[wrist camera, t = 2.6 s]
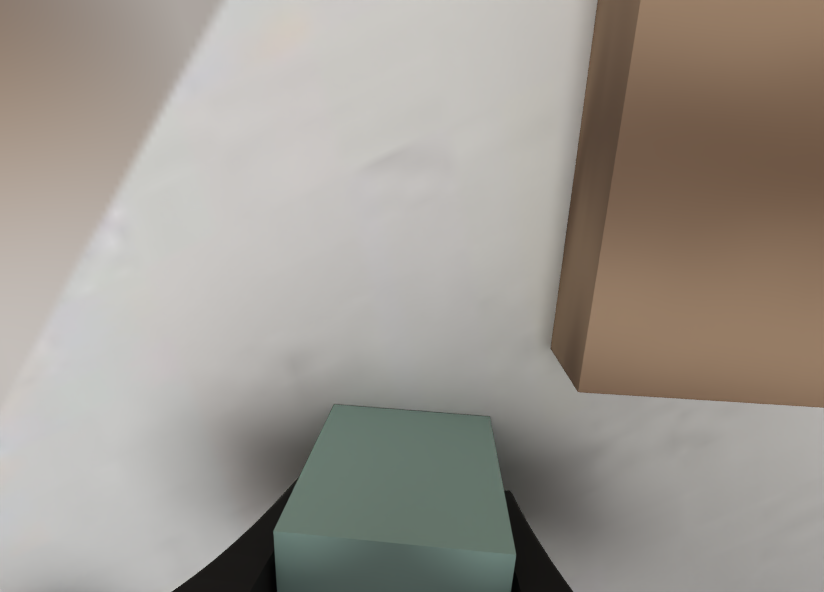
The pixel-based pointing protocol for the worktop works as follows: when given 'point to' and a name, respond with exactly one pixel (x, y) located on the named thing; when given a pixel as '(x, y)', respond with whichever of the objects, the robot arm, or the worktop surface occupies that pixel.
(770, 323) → the walnut block
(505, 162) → the worktop surface
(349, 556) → the sage cube
